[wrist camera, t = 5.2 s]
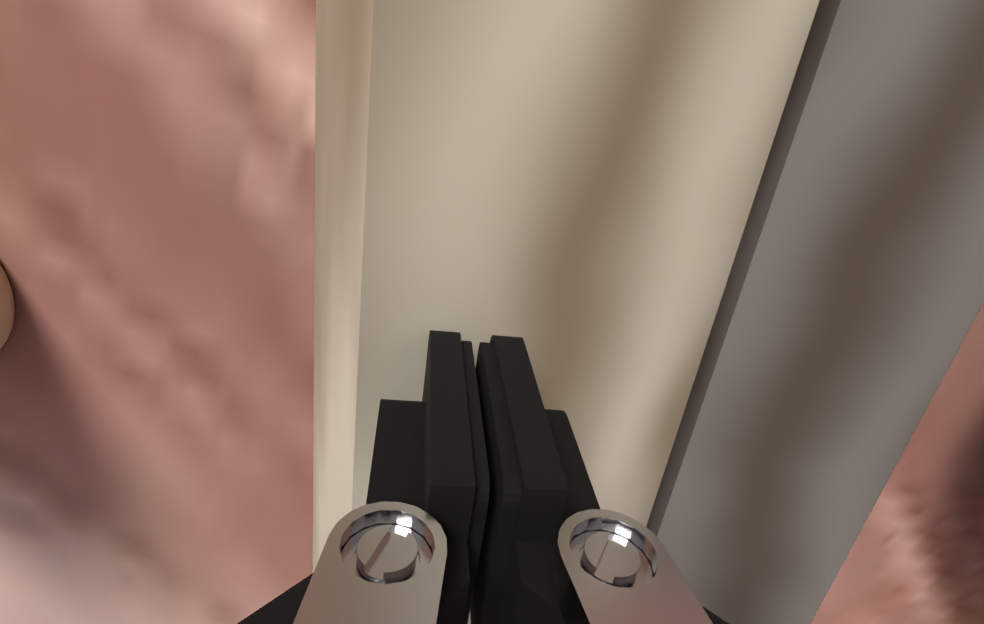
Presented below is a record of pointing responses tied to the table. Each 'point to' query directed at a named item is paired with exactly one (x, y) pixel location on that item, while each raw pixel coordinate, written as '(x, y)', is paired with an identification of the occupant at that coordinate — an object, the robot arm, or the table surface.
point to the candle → (5, 308)
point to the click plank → (535, 208)
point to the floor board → (833, 308)
